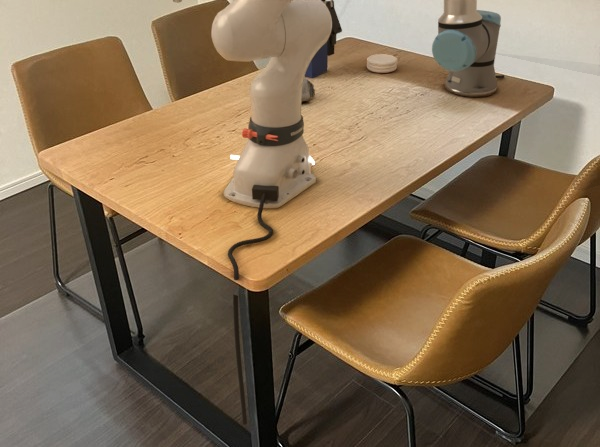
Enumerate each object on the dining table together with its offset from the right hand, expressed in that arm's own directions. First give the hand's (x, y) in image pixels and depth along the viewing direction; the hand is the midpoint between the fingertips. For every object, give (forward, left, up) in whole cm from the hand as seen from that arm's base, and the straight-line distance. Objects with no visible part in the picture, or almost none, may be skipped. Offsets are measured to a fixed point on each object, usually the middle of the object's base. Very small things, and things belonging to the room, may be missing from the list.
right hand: (314, 51), depth 200 cm
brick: (0, 0, -7) cm, 7 cm away
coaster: (-16, +16, -7) cm, 24 cm away
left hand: (+55, -5, +25) cm, 60 cm away
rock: (+22, +7, -7) cm, 24 cm away
